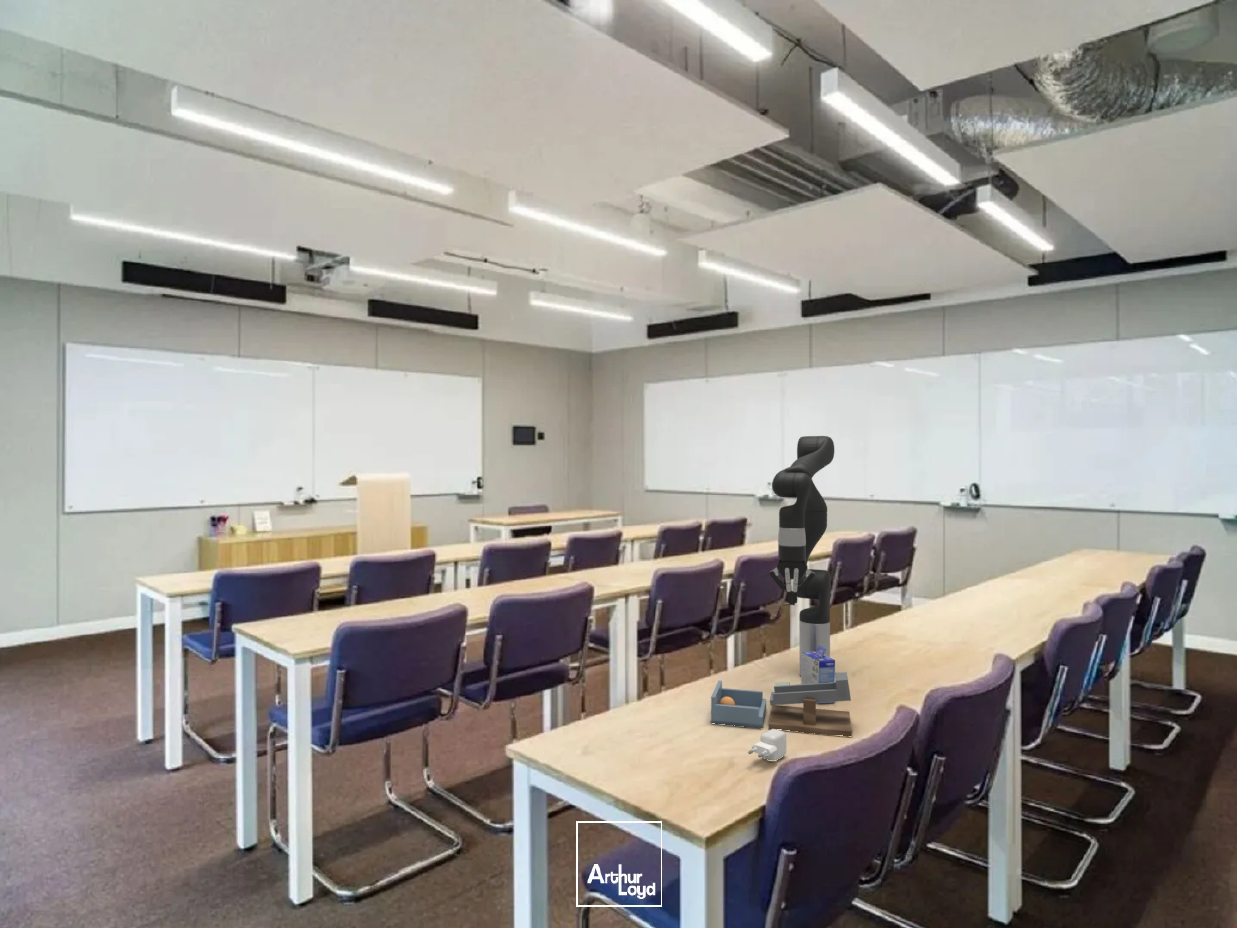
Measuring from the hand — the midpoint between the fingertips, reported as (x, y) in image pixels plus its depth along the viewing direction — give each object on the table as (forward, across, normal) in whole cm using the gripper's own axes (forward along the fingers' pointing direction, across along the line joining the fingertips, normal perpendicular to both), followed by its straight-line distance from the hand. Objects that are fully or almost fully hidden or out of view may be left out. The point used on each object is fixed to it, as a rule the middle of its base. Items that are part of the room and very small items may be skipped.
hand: (792, 604), depth 203 cm
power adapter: (+27, +4, +43) cm, 51 cm away
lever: (+22, -5, +13) cm, 26 cm away
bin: (+27, +13, +17) cm, 34 cm away
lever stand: (+27, -5, +17) cm, 32 cm away
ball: (+24, +16, +17) cm, 34 cm away
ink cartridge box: (+27, -7, -3) cm, 28 cm away
